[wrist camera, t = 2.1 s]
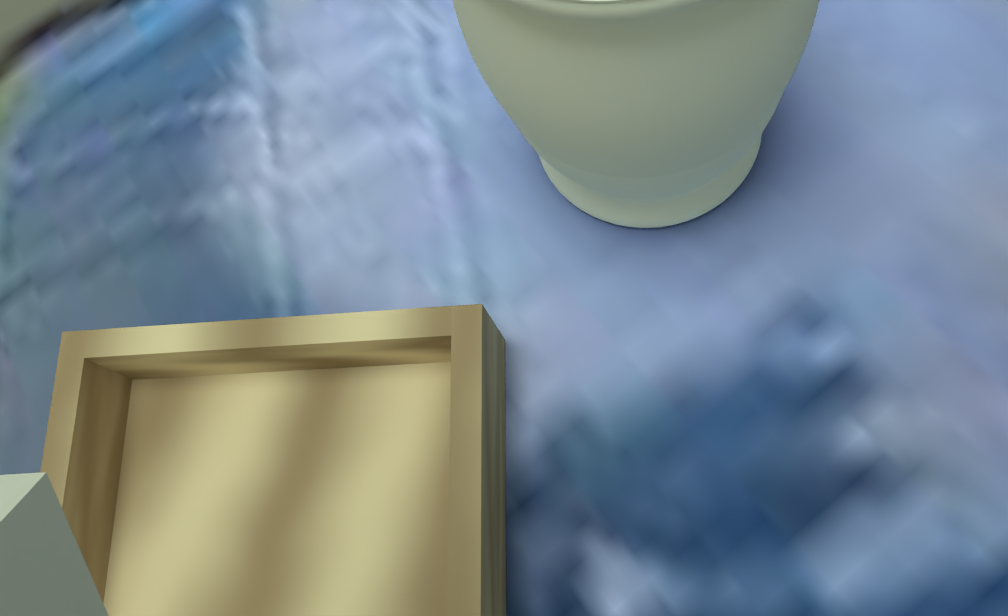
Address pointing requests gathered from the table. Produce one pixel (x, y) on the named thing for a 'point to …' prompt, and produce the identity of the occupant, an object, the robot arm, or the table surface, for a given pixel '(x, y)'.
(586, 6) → the jar
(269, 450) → the holder
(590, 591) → the table surface
